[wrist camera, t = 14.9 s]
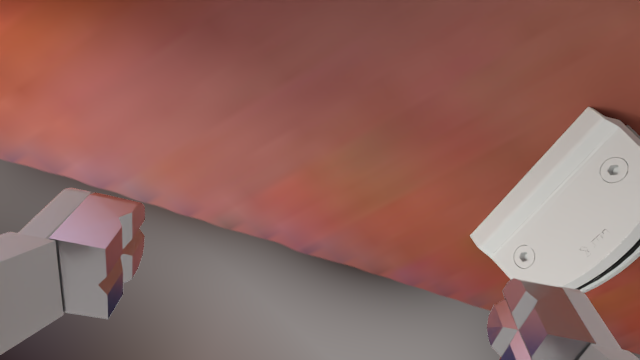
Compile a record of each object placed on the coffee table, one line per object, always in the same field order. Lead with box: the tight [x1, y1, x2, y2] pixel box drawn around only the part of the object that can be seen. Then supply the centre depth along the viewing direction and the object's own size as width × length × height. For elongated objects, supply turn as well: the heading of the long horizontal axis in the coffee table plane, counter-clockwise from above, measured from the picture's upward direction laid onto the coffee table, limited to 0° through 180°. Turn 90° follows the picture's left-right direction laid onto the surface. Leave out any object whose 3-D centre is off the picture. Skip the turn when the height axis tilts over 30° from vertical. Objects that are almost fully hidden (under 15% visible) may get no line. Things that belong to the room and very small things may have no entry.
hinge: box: [470, 107, 640, 293], centre depth 38 cm, size 17×5×10 cm, turn 152°
